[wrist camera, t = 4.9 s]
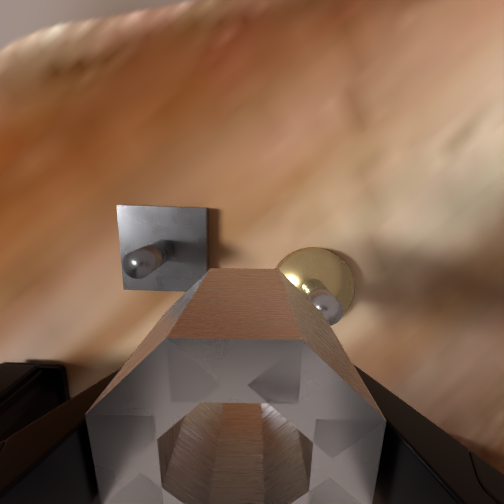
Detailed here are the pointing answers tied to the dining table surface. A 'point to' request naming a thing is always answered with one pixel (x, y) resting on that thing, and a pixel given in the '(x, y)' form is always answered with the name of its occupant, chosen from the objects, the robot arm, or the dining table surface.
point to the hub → (321, 280)
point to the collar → (237, 404)
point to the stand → (163, 246)
